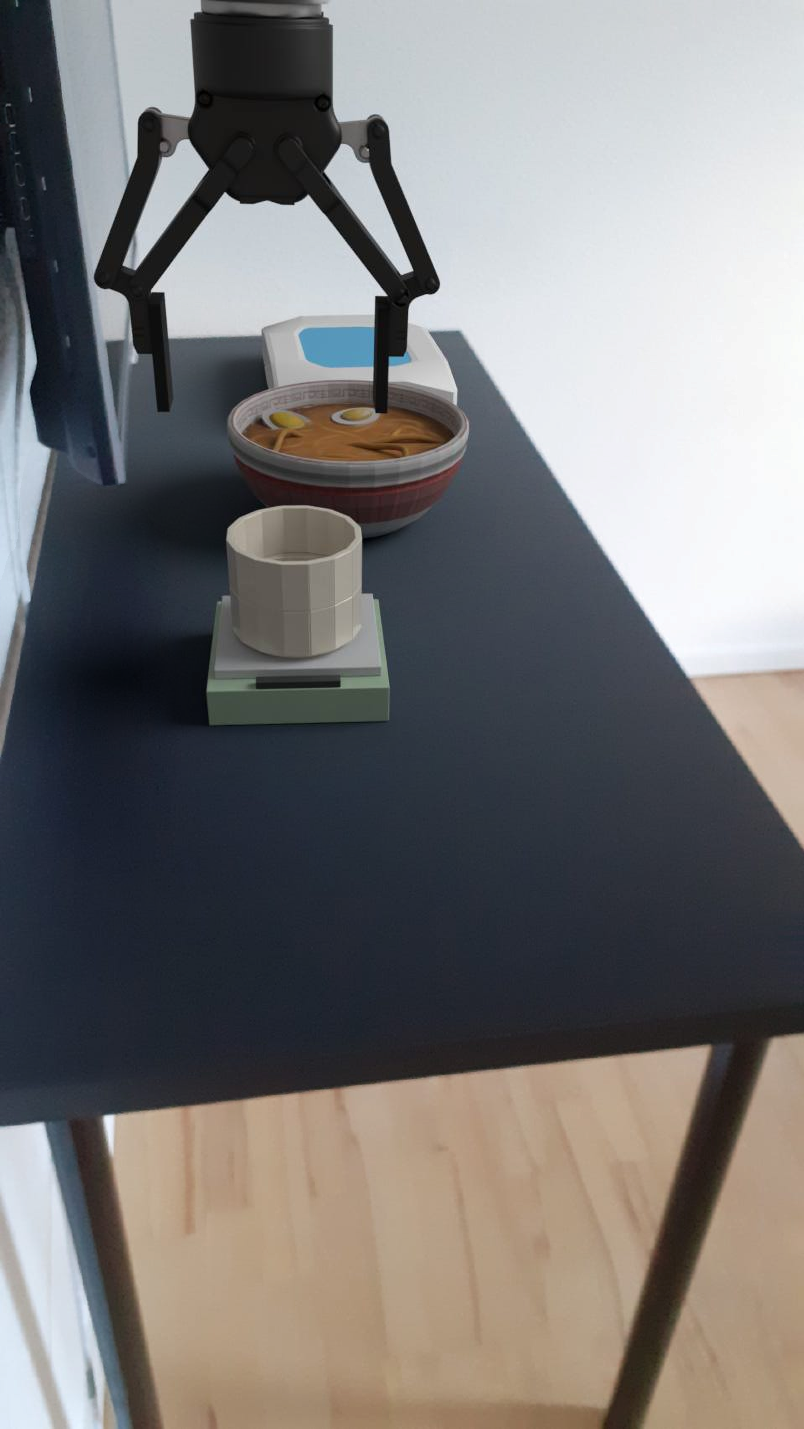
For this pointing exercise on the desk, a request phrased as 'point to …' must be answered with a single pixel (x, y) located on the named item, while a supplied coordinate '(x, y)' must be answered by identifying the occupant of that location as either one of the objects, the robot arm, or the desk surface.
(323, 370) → the document scanner
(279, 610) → the faceted beige cup
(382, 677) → the scale
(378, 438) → the bowl
